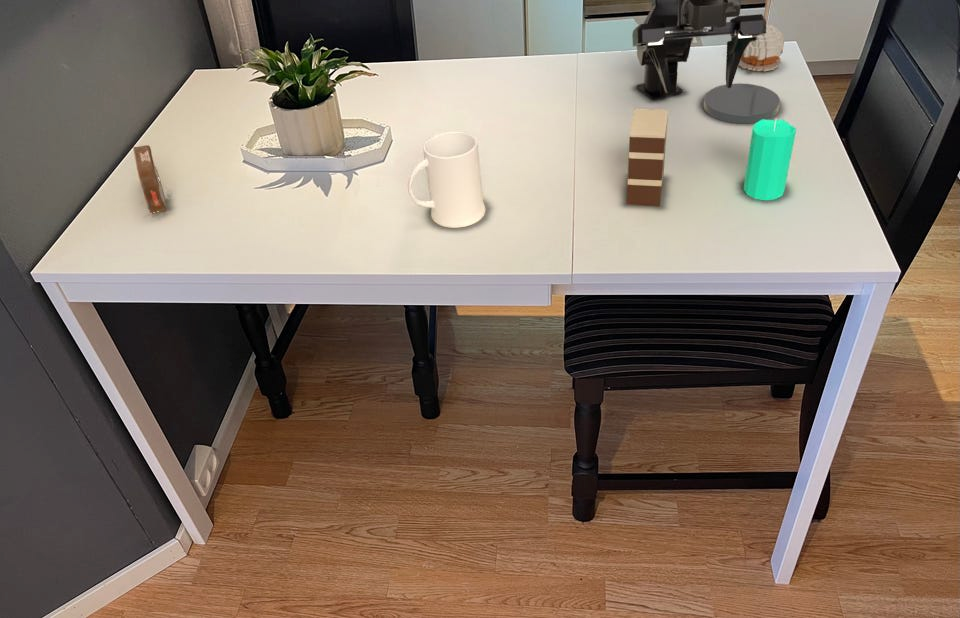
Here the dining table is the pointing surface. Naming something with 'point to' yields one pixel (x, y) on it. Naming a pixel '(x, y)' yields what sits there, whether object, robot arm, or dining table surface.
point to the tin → (149, 179)
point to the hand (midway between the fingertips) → (698, 90)
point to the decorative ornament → (764, 49)
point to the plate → (741, 103)
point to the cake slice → (646, 156)
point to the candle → (769, 159)
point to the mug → (452, 179)
